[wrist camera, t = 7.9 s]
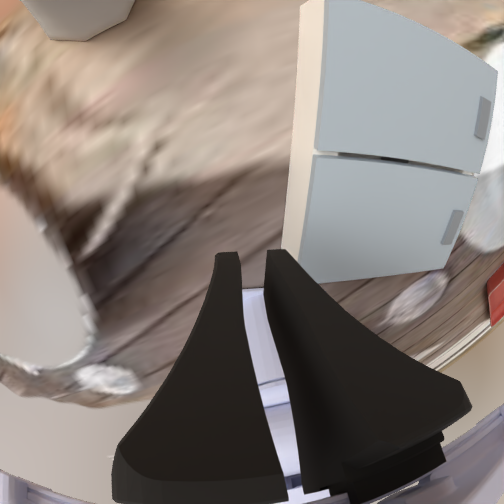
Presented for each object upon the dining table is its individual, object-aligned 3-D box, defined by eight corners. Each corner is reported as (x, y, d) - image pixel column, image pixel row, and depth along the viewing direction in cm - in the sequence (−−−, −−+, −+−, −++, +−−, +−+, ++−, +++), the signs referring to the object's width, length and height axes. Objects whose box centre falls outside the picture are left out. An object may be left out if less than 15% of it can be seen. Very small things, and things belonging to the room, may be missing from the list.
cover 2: (439, 264, 21) (445, 270, 20) (294, 279, 19) (298, 288, 18) (473, 175, 16) (480, 180, 15) (312, 154, 14) (318, 159, 13)
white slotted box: (416, 240, 24) (438, 265, 21) (281, 247, 22) (293, 281, 19) (457, 60, 13) (492, 67, 10) (300, 6, 12) (324, -9, 8)
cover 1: (474, 170, 15) (481, 175, 15) (313, 147, 14) (319, 151, 13) (491, 69, 10) (500, 72, 10) (324, -6, 8) (331, -10, 8)
